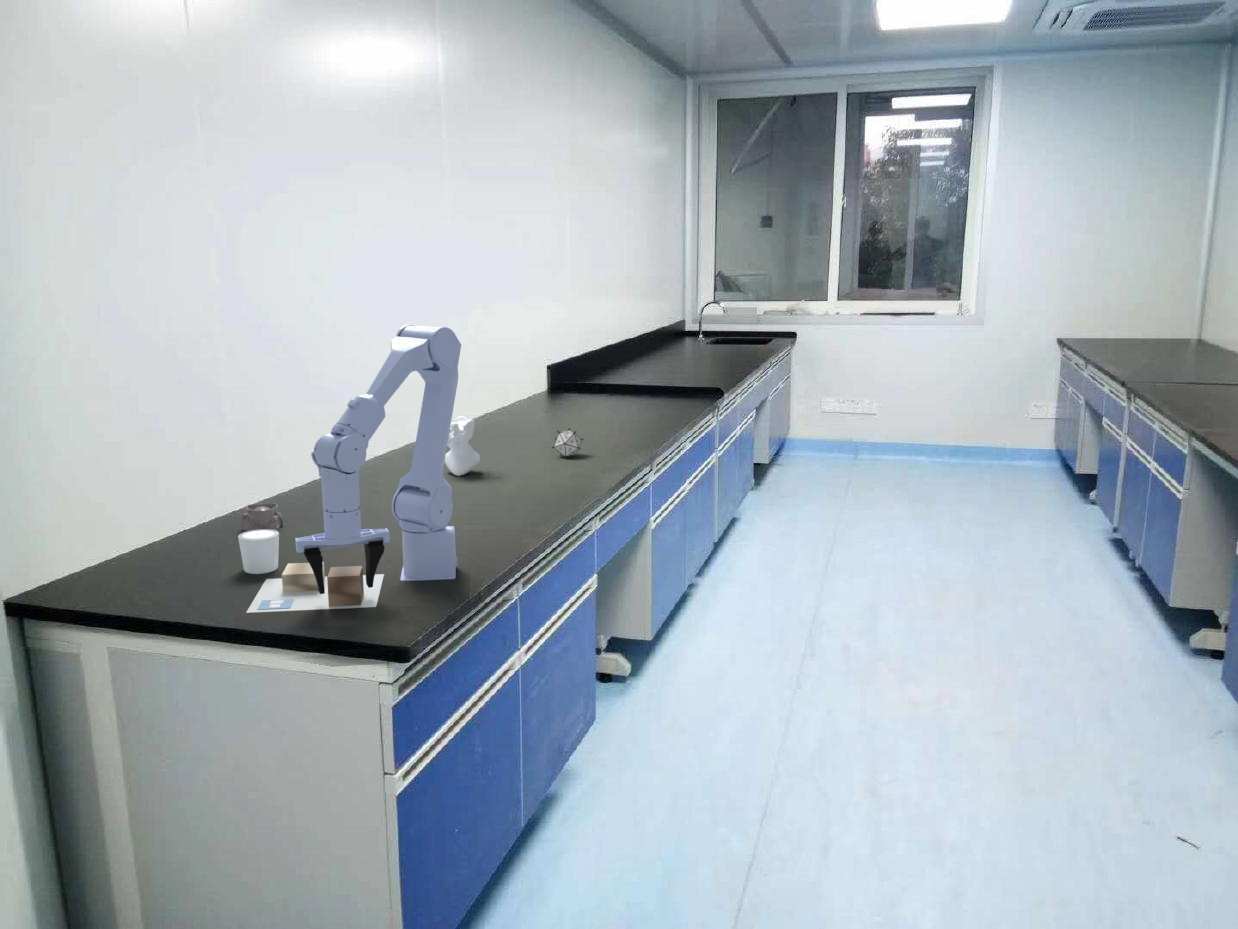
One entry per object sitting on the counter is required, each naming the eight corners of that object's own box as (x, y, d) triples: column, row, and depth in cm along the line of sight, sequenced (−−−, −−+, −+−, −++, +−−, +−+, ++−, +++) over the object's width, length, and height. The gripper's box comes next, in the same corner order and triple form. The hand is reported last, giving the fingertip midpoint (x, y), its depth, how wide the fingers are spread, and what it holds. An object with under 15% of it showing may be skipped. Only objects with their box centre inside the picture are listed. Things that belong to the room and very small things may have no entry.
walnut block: (363, 594, 159) (362, 565, 158) (360, 605, 154) (359, 575, 153) (332, 595, 158) (331, 567, 157) (328, 606, 153) (327, 577, 152)
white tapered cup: (286, 565, 175) (284, 528, 173) (274, 577, 168) (271, 539, 166) (248, 565, 174) (245, 528, 173) (235, 577, 168) (232, 539, 166)
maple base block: (324, 578, 166) (323, 562, 166) (319, 590, 160) (318, 573, 160) (289, 579, 165) (288, 563, 165) (282, 591, 159) (281, 574, 159)
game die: (574, 470, 269) (590, 445, 264) (547, 462, 266) (563, 436, 260) (571, 449, 276) (587, 425, 270) (544, 441, 272) (560, 416, 267)
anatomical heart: (483, 471, 251) (482, 414, 248) (472, 480, 240) (471, 422, 237) (447, 469, 252) (445, 413, 249) (435, 479, 241) (433, 421, 238)
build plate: (384, 576, 169) (384, 573, 169) (376, 609, 153) (376, 605, 153) (266, 581, 166) (266, 578, 166) (246, 615, 150) (245, 611, 150)
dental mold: (240, 536, 192) (238, 512, 191) (243, 526, 199) (241, 503, 198) (281, 533, 194) (280, 509, 193) (284, 524, 201) (282, 501, 200)
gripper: (382, 498, 159) (385, 575, 162) (291, 506, 153) (296, 587, 156) (391, 508, 153) (394, 588, 156) (296, 517, 147) (301, 601, 150)
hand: (345, 588), depth 155 cm, fingers open, 7 cm apart
